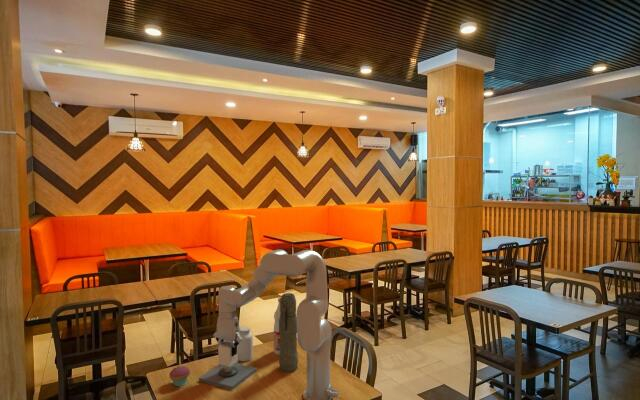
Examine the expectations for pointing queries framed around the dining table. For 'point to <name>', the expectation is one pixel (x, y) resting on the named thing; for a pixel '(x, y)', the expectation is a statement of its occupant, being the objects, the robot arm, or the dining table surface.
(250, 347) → the pill bottle
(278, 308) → the fruit juice
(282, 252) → the robot arm
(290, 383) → the dining table surface
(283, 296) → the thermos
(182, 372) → the cupcake
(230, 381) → the post base
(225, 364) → the white rectangular block
